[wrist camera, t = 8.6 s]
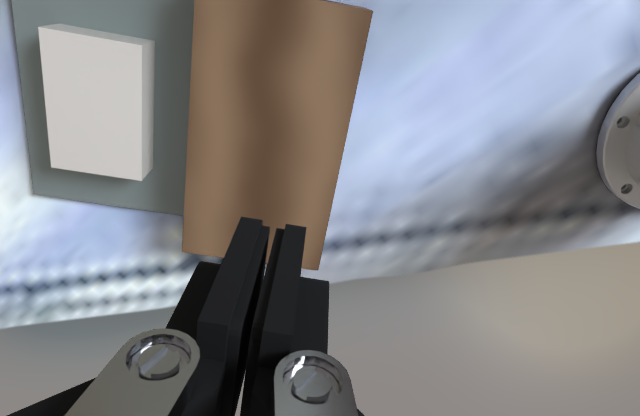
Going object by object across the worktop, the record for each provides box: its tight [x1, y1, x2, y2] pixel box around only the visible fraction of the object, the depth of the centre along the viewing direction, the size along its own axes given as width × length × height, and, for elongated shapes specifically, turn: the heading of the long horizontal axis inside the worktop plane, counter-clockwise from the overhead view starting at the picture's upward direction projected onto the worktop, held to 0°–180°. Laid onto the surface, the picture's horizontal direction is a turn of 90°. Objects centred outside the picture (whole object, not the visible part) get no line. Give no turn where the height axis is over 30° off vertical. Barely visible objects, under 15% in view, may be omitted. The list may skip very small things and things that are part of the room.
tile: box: [38, 24, 155, 181], centre depth 30 cm, size 6×9×2 cm, turn 170°
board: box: [182, 0, 373, 270], centre depth 31 cm, size 10×18×4 cm, turn 170°
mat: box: [11, 0, 194, 216], centre depth 31 cm, size 12×16×1 cm
